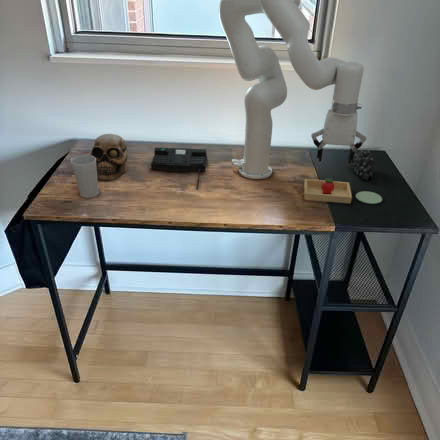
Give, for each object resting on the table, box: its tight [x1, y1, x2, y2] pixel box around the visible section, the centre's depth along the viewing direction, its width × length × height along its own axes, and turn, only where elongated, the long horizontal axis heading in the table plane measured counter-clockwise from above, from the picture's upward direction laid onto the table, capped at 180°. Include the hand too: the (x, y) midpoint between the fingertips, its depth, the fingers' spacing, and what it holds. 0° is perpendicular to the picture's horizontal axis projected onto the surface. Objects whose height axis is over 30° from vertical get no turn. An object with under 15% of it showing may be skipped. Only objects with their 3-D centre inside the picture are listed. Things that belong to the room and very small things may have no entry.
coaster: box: [355, 190, 383, 204], centre depth 155 cm, size 9×9×1 cm
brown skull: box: [90, 133, 129, 182], centre depth 166 cm, size 16×17×13 cm
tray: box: [303, 178, 353, 204], centre depth 155 cm, size 16×12×3 cm
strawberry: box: [321, 177, 334, 195], centre depth 154 cm, size 4×4×5 cm
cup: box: [70, 154, 100, 199], centre depth 149 cm, size 8×8×12 cm
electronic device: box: [150, 147, 208, 190], centre depth 168 cm, size 21×30×5 cm
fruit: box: [351, 149, 376, 182], centre depth 167 cm, size 9×8×15 cm
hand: (334, 160), depth 148 cm, fingers open, 9 cm apart
